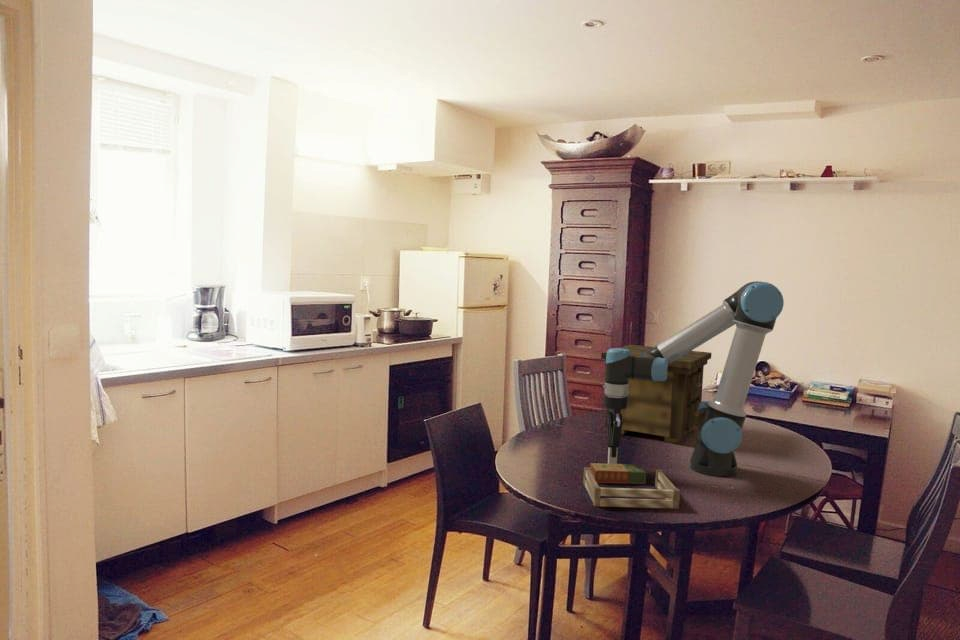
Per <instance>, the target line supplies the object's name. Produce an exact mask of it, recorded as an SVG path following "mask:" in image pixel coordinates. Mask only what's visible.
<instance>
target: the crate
mask: <svg viewBox="0 0 960 640" xmlns="http://www.w3.org/2000/svg"><path fill="white" fill-rule="evenodd" d="M653 347H654V346H647V345H645V346H644V345H635V344H627V345H624V346H621V347H619V348H622V349H628V350H629V351H630V355H631V356H640V355H641V354H642V353H643V352H645V351H648V350H650V349H652V348H653ZM607 351H608V350H607ZM607 351H603V352H601V355H600V357H601V358H600V359H601V360H604V365H605V366H606V356H607ZM711 359H712V352H710V351H709V352H708V351H699V350H698V351H696V350H692V351H690V352H688V353H687V354H685V355H683V356H682V357H680V358H678V359H677V360H675V361H673V362H672V363H670V364H669V365H668V368H667V379H666V380H665V381H651V380H640V379H629V380H628V383H629V384H628V395H627V396H626V397H627V398H628V399H627V408H626V409H622V410H621V414H622V420H621V421H623V424H622V429H621V435H625V434H627V433H628V431H629V432H637V433H643V434H648V435H654V436H659V437H664V440H663V441H664V442H666V443H672V444H676V445H677V444H678V443H679V442H681V441H683V439H685V437H686V434H687V433H691V432H692V431H693V429H694V428H695V427H698V413H699V411H698V408H699V404H700V402H702V401H703V398H702V396H703V383H704V382H703V381H704V380H703V379H704V367H705V366H706V365H708V361H709V360H711ZM605 408H606V407H605ZM607 412H609V408H606V409H605V426H604V427H605V428H607V429H608V418H607Z"/></svg>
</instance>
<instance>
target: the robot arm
mask: <svg viewBox="0 0 960 640" xmlns="http://www.w3.org/2000/svg"><path fill="white" fill-rule="evenodd" d="M784 305H785V302H784V297H783V293H782V292H781V290H780V289H779V288H778V287H776V285H774V284H773V283H769V282H766V281H756V280H755V281H750V282H748V283H746V284H744V285H743V286H741V287H740V288H739V289H738V290H736V291H735V292H734V293H732V294H731V295H729V296H728V297H726V298H725V299H723V301H722V304H721V305H720V306H718V307H716V308H715V309H713V310H711V311H710V312H708V313H707V314H705V315H703V316H702V317H700V318H699V319H697V320H696V321H694V322H692V323H691V324H689V325H687V326H685V327H684V328H683V329H680V330H679V331H677V332H676V333H674V334H673V335H671V336H670V337H668V338H667V339H666V338H665V340H662V341H661V342H660V343H658V344H656V346H652V347H653V348H652V349H650V350H648V351H645V352H643V353H642V354H641V355H640V356H631V355H630V351H629V350H628V349H622V348H620V347H612V348H609V349H608V350H607V356H606V365H605V369H604V370H605V371H604V372H605V376H604V384H603V386H602V388H603V389H604V394H605V395H604V396H603V406H604V407H605V408H609V412H607V418H608V428H607V439H606V441H607V442H608V445H607V448H608V453H607V464H618V453H619V452H618V449H619V448H620V446H621V445H620V444H621V436H622V434H621V429H622V424H623V421H621V420H622V414H621V410H622V409H626V408H627V399H628V398H627V397H626V396H627V395H628V384H629V383H628V380H629V379H640V380H651V381H665V380H666V379H667V368H668V365H669V364H670V363H672V362H673V361H675V360H677V359H678V358H680V357H682V356H683V355H685V354H687V353H688V352H690V351H694V350H695V349H697V348H699V347H700V346H701V345H704V344H705V343H706V342H707V343H708V341H710V340H712V339H713V338H715V337H717V336H718V335H720V334H721V333H723V332H725V331H727V330H728V329H730V328H731V327H733V326H736V328H735V331H734V334H733V338H732V341H731V343H730V348H729V351H728V354H727V357H726V360H725V363H724V366H723V371H722V373H721V376H720V380H719V384H718V387H717V390H716V393H715V397H714V399H713V400H711V401H710V400H701V402H700V404H699V408H698V411H699V413H698V426H697V427H696V428H697V430H696V431H697V433H696V445H695V447H694V449H693V452H692V454H691V456H690V459H689V468H690V470H691V469H692V470H693V471H695V472H697V473H700V474H705V475H708V476H715V477H732V476H735V475H736V474H738V462H737V458H736V454H735V452H734V451H735V450H736V449H738V448H739V446H740V445H741V442H742V440H743V431H742V430H743V428H744V423H745V422H746V421H745V420H746V418H747V413H746V411H745V409H744V406H745V402H746V399H747V396H748V393H749V389H750V387H751V383H752V380H753V377H754V374H755V370H756V367H757V363H758V362H759V361H758V360H759V357H760V356H761V355H760V354H761V351H762V348H763V345H764V341H765V338H766V335H767V334H769V333H771V332H772V331H773V330H774V327H775V324H776V322H777V321H776V320H777V318H778V317H779V315H780V314H781V313H782V312H783V308H784Z"/></svg>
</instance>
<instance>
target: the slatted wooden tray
mask: <svg viewBox="0 0 960 640" xmlns="http://www.w3.org/2000/svg"><path fill="white" fill-rule="evenodd" d="M654 480H655V483H654V485H655V488H636V487H635V488H631V487H630V488H629V487H626V488H625V487H601V486H599V485H598V483H596V481H595V479H594V477H593V475H592V473H591V472H590V467H587V466H586V467H583V480H582V481H583V486H584V487H585V489H586V491H587V493H588V495H589V497H590V499H591V501H592V505H593V507H599V508H600V507H608V508H609V507H613V508H614V507H615V508H643V509H644V508H645V509H673V510H675V509H676V510H679V509H680V495H681V490H680V489H679V488H677V487H676V486H675V485H674V484H673V483H672V482H671V481H670V479H669V478H668V477H667V476H666V474H665V473H664V472H663V470H662V469H655V479H654ZM612 497H613V498H612ZM614 497H615V498H614ZM617 497H619V498H617ZM621 497H623V498H621ZM624 497H625V498H624ZM629 497H630V498H629ZM647 498H648V499H647ZM649 498H650V499H649ZM651 498H652V499H651ZM653 498H659V499H653ZM660 498H661V499H660Z"/></svg>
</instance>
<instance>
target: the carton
mask: <svg viewBox="0 0 960 640" xmlns="http://www.w3.org/2000/svg"><path fill="white" fill-rule="evenodd" d="M589 468H590V472H591V473H592V475H593V477H594V479H595V481H596V483H597V484H635V485H636V484H638V485H641V484H642V485H645V484H646V483H647V481H646V479H647V477H646V472H645V470H644V469H643V468H642V467H641V466H640V465H639V464H633V463H632V464H631V463H629V464H628V463H617V464H608V463H600V462H598V463H596V462H595V463H593V462H590V463H589Z"/></svg>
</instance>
